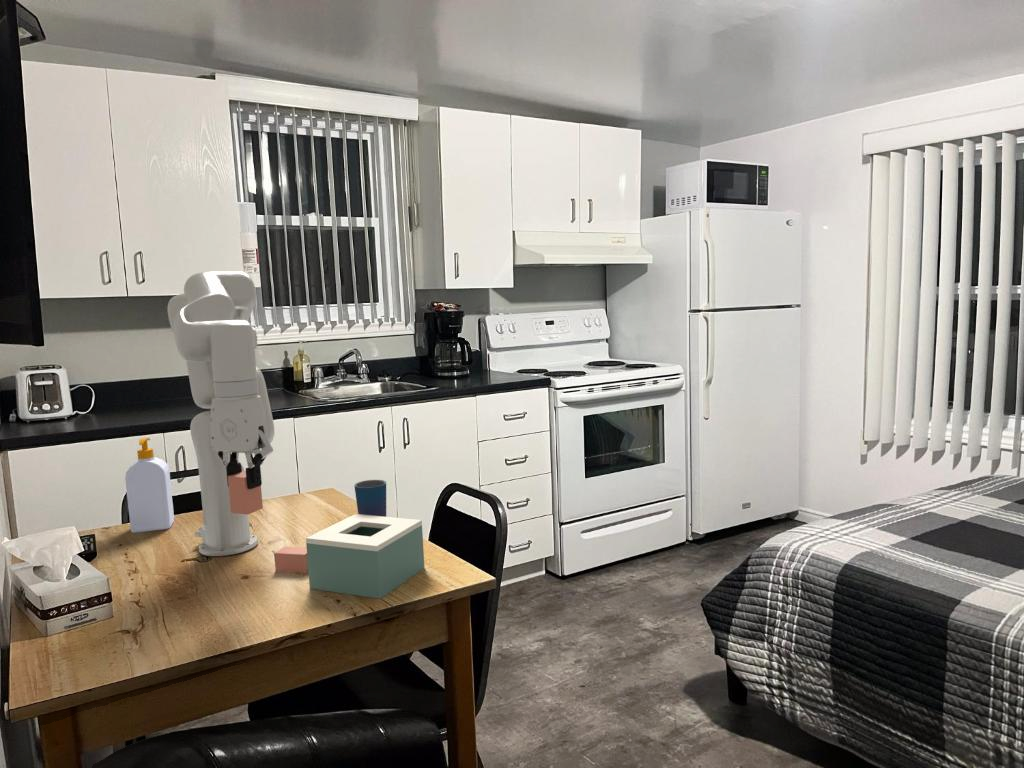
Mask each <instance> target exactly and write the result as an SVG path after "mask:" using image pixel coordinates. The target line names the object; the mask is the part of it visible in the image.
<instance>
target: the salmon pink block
mask: <svg viewBox="0 0 1024 768" xmlns="http://www.w3.org/2000/svg"><path fill="white" fill-rule="evenodd" d="M228 485H229V496H230V507H231V513H238V514H247V515H250V514H253V513H255V512H258V511H260V510H263V508H264V507H263V506H264V505H263V496H262V495H263V493H262V485H261V486H258V487H256V488H253V489H248V488H247V477H246V470H244V471H242V472H239V473H236V474H233V475H230V476H228Z"/></svg>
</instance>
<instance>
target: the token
mask: <svg viewBox="0 0 1024 768" xmlns="http://www.w3.org/2000/svg"><path fill="white" fill-rule="evenodd" d="M273 556H274V557H273V558H274V568H275V570H274V571H275V572H284V573H285V572H286V573H287V572H288V573H300V574H301V573H304V574H306V573H309V571H308V559H307V546H306V547H304V546H285V545H284V546H283V547H281V548H280V549H278V550H277V551H275V552H273Z"/></svg>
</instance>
